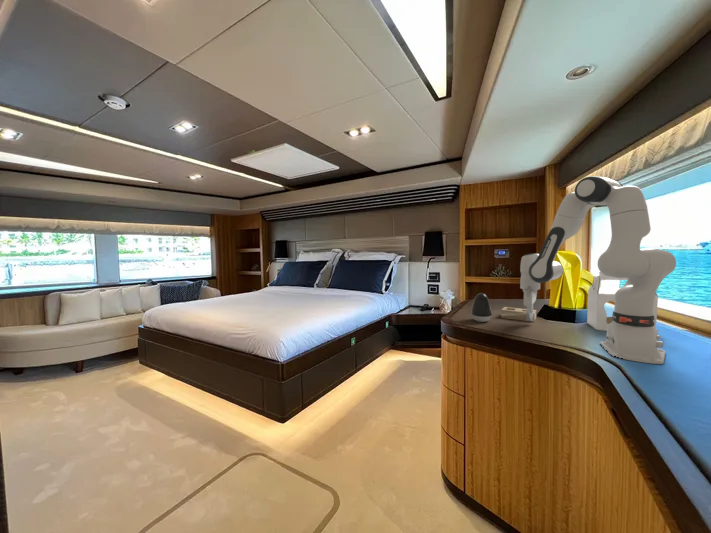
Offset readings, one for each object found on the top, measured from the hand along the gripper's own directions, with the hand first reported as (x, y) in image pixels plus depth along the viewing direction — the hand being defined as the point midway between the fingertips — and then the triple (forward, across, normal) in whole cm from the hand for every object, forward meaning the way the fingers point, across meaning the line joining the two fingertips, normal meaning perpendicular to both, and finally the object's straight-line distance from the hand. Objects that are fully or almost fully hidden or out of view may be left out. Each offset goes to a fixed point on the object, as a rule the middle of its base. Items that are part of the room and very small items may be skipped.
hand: (529, 312), depth 154 cm
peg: (+4, 0, 0) cm, 4 cm away
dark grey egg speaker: (+6, -5, +22) cm, 24 cm away
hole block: (+6, +12, +7) cm, 15 cm away
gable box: (+7, +14, -36) cm, 39 cm away
